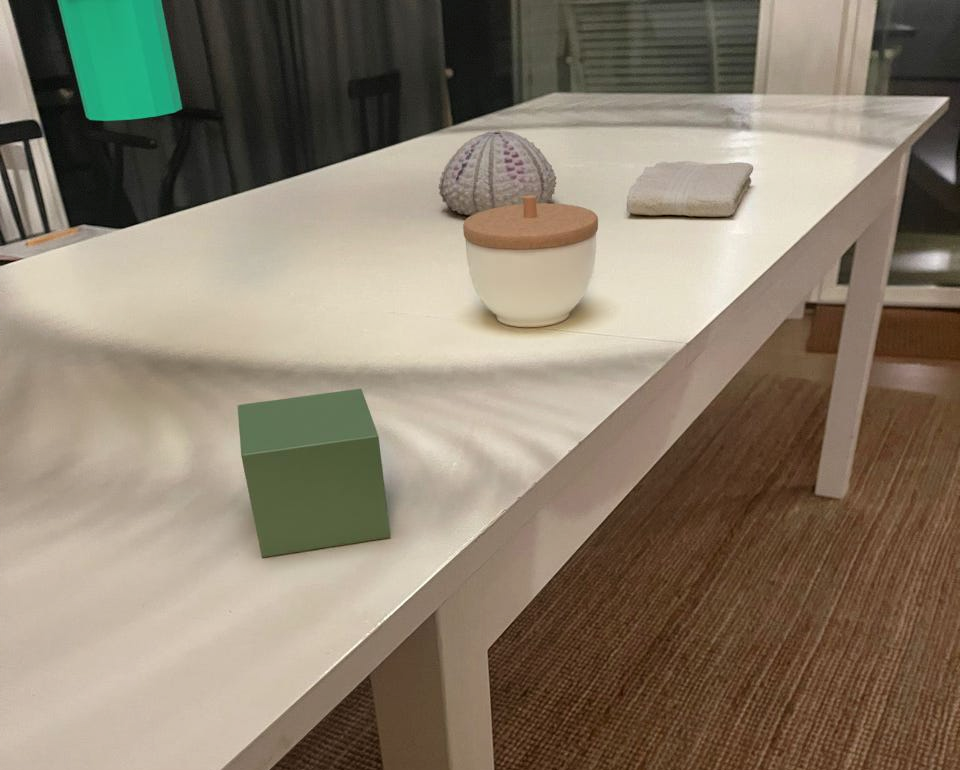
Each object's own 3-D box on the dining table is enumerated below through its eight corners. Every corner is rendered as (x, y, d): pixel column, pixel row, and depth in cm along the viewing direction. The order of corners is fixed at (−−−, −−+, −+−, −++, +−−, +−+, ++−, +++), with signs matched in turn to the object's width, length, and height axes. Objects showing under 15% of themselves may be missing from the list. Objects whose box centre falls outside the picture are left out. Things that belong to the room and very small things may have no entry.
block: (261, 558, 55) (240, 455, 52) (256, 500, 61) (237, 404, 58) (390, 538, 56) (378, 435, 53) (373, 483, 62) (361, 387, 59)
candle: (70, 116, 66) (11, -116, 59) (155, 103, 69) (109, -119, 63) (111, 123, 62) (53, -123, 56) (199, 109, 66) (155, -126, 59)
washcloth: (753, 184, 123) (755, 155, 121) (736, 221, 109) (739, 189, 107) (653, 183, 126) (654, 155, 124) (624, 219, 112) (625, 188, 110)
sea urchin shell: (560, 218, 114) (560, 138, 110) (438, 225, 114) (432, 146, 110) (553, 192, 125) (552, 119, 120) (441, 199, 125) (436, 126, 121)
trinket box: (443, 326, 86) (434, 206, 80) (512, 290, 93) (508, 178, 88) (555, 344, 81) (554, 217, 75) (619, 305, 88) (622, 187, 82)
